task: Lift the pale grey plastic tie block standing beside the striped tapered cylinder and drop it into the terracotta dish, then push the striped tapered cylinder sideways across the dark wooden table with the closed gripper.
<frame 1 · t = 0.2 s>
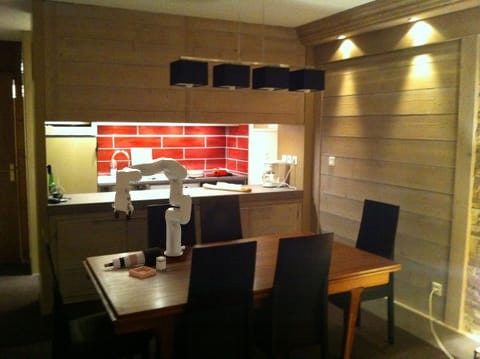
hand: (122, 219, 266), 31 cm above the table, fingers open, 9 cm apart
tie block: (161, 268, 274), on the table
striped tapered cylinder: (132, 267, 277), on the table
dish: (142, 274, 263), on the table
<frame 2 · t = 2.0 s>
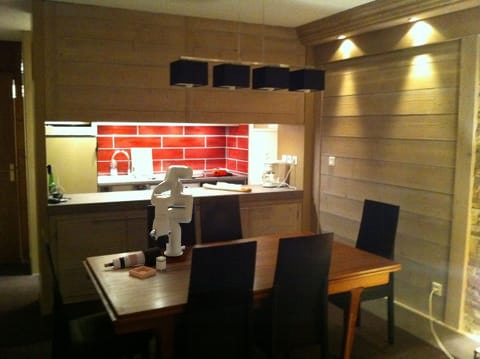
hand: (160, 244, 272), 15 cm above the table, fingers open, 9 cm apart
nothing on the table moved.
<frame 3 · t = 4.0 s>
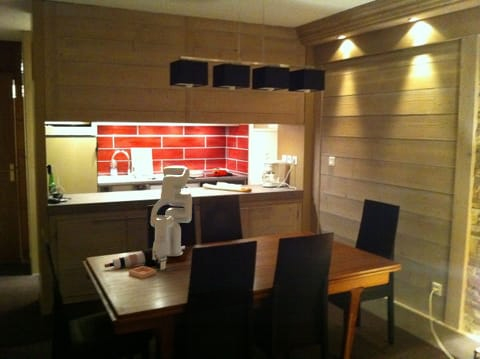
hand: (160, 267, 274), 1 cm above the table, fingers closed on tie block, 4 cm apart
tie block: (160, 268, 274), on the table, touching gripper
everything else where it was.
when the fingers open (3 cm above the table, at t = 7.9 s): tie block drops 2 cm, resting on dish.
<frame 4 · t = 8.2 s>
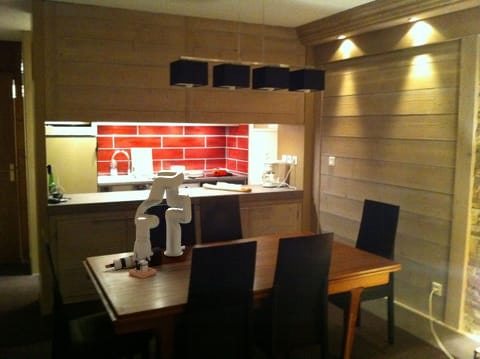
hand: (142, 268, 263), 4 cm above the table, fingers open, 6 cm apart
tie block: (142, 273, 263), point 1 cm above the table, touching dish
striped tapered cylinder: (133, 267, 276), on the table
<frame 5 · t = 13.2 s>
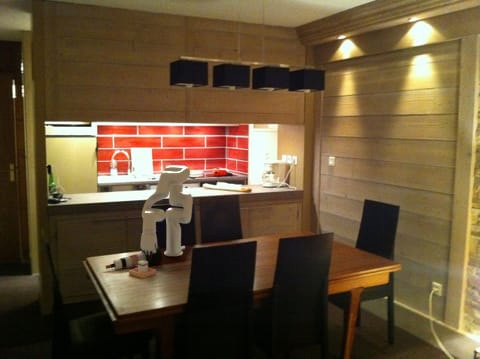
hand: (149, 260, 273), 5 cm above the table, fingers closed
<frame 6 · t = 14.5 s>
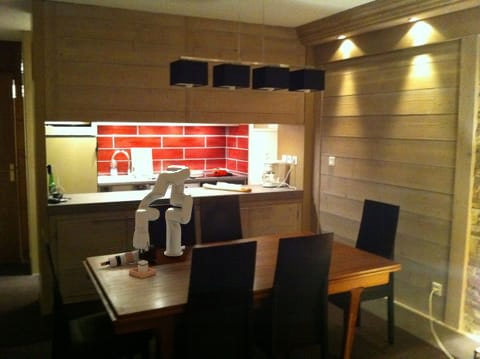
hand: (141, 258, 277), 5 cm above the table, fingers closed
striped tapered cylinder: (128, 265, 280), on the table, touching gripper
everything else where it was.
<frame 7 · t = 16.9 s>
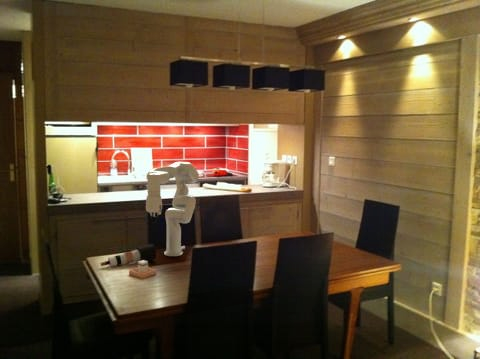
hand: (154, 222, 277), 27 cm above the table, fingers closed
striped tapered cylinder: (128, 264, 281), on the table
everything else where it was.
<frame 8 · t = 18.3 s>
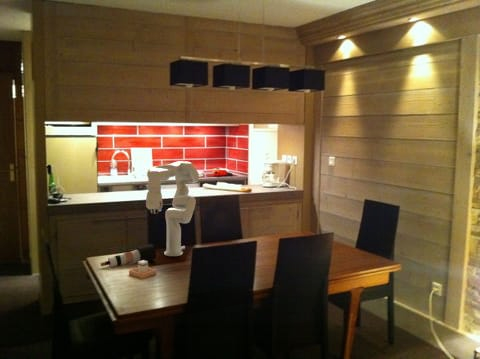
hand: (154, 219, 277), 29 cm above the table, fingers closed
nothing on the table moved.
at the end: tie block inside the target area on the dish (0.3 cm from its centre), point 0.6 cm above the dish's base; striped tapered cylinder moved 6.3 cm from its start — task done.
